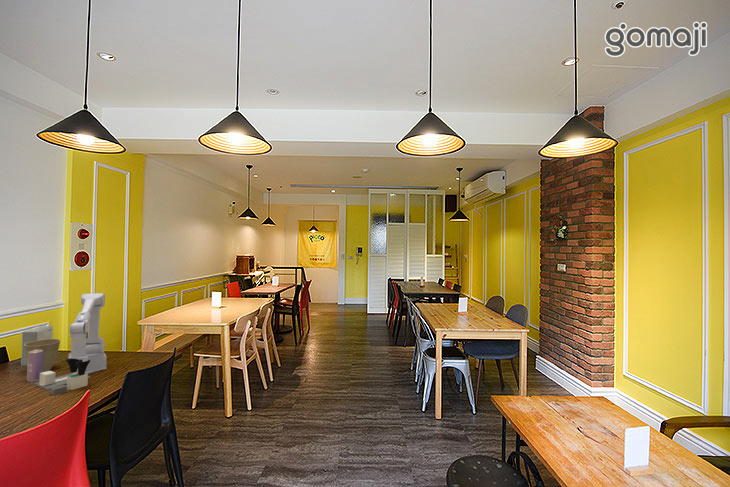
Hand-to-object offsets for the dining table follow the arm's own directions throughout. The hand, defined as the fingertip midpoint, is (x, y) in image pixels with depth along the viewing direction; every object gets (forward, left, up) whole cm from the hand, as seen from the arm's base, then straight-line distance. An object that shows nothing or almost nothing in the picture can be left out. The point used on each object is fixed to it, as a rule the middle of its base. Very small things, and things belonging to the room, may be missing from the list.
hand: (77, 373), depth 174 cm
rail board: (0, -14, -7) cm, 16 cm away
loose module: (0, 0, -7) cm, 7 cm away
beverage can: (+6, -29, -7) cm, 30 cm away
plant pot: (-2, -43, -7) cm, 44 cm away
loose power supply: (+8, +1, -7) cm, 10 cm away
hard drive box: (-8, -65, -7) cm, 66 cm away
